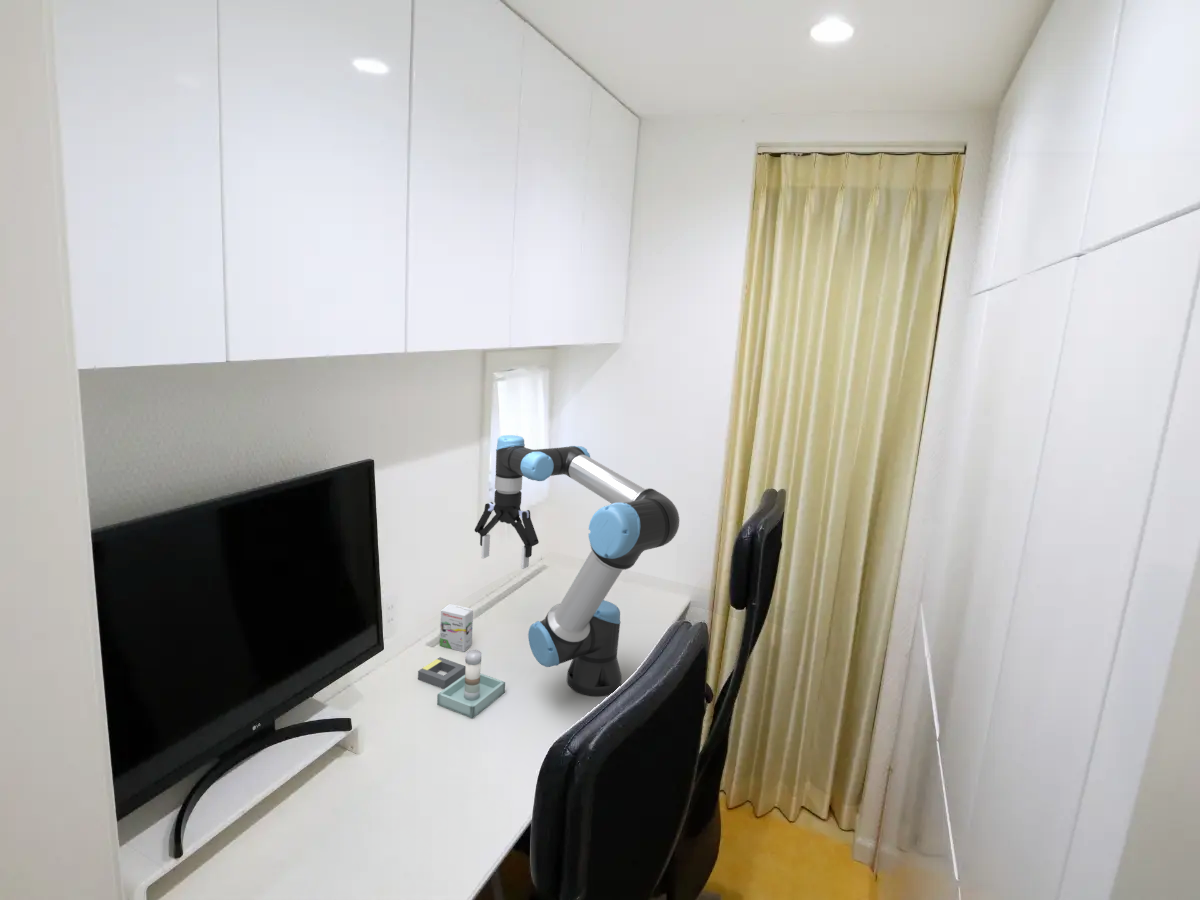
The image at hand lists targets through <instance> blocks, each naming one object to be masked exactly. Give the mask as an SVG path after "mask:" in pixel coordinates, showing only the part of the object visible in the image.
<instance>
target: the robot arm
mask: <svg viewBox="0 0 1200 900" xmlns="http://www.w3.org/2000/svg"><path fill="white" fill-rule="evenodd" d="M525 445H526V444H525V438H524V437H523V436H520V435H514V434H513V435H512V434H508V435H507V434H506V435H501V436H499V437H498V438H497V444H496V449H495V452H496V453H495V475H494V476H495V478H494V479H495V480H494V489H495V491H494V501H491V502H487V503H485V505H484V510H483V513H482V515H481V516H480V519H479V520H478V522H477V524H476V526H475V528H474V532H475V533H478V534H479V539H480V540H479V541H480V542H479V545H480V546H481V559H486V558H487V557H490V547H491V546H490V545H491V543H490V542H491V540H490V539H491V535H490V533H489V532H490V531H491V530H492V529H493V528H494V527H495V526H496V525H497V524H498V523H499V522H500V523H506V524H508V525H511V527H513V528H514V530H515V532H516V533H517V534H518V536H519V538H520V539H521V541H522V543H523V544H524V545H523V546H522V547H521V563H520V565H521V566H520V569H521V570H525V569H526V568H529V567H530V566H529V563H530V557H532V551H533V547H534V546H536V545H538V544H539V542H540V541H539V538H538V536H537V533H536V530H535V528H534V527H535V526H534V524H533V522H532V519H531V511H530V510H529V509H527V510H521V505H522V489H523V477H524V478H527V479H528V480H530V481H531V480H532V481H536V482H544V481H546V480H547V479H548V478H550V477H552V476H560V475H561V476H562V475H563V476H564V475H565V476H567V477H569V478H571V479H572V480H574V481H575V482H576V483H578V484H580V485H581V486H583V487H585V488H586V489H588V490H590V492H592V493H594V494H596V495H597V496H599V497H600V498H602V499H604V500H605V501H607V502H608V503H610V504H608V505H604V506H601V507H600V508H599V509H598V510H597V511H595V513H594V514H593V515H592V517H591V518H590V522H589V525H588V530H589V533H588V540H589V546H590V549H591V551H590V552H589V555H588V556H587V558H586V559H585V561H584V563H583V564H582V566H581V568H580V570H579V572H578V573H577V575H576V577H575V578H574V580H573V581H572V584H571V585H570V587H569V588H568V590H567V592H566V593H565V595H564V597H563V598H562V600H561V602H559V603H557V604H554V605H553V606H552V607H551V608H550V609H549V611H548V612H547V614H546V616H545V617H544V619H542V620H540V621H539V620H537V621H535V622H534V623H532V624H531V625H530V626H529V628H528V634H527V636H528V644H529V648H530V650H531V652H532V653H531V654H532V655H533V657H534V658H535V659H536V661H537V663H538V664H540V666H543V667H546V668H550V667H554V666H559V665H561V664H563V663H567V662H569V661H570V664H569V666H568V669H567V673H566V674H567V675H566V682H567V684H568V686H569V687H570V688H571V690H573V691H575V692H577V693H580V694H582V695H584V696H585V695H587V696H591V697H600V696H601V697H602V696H603V697H604V696H607V695H611V694H613V693H612V692H614V691H615V690H616V689H617V688H618V687H619V686H620V685H622V673H621V668H620V664H619V659H618V648H619V637H620V628H621V627H620V626H621V611H620V608H619V607H618V606H617V604H614V603H612V602H611V601H608V600H605V599H606V597H607V595H608V593H609V592H610V590H611V589H612V588H613V586H614V584H615V583H616V581H617V580H618V578H619V576H620V575H621V573H622V571H625V570H629V569H630V568H632V567H633V566H635V564H636V563H637V560H638V559H639V558H640V556H641V554H642V553H643V552H645V551H647V550H652V549H655V548H659V547H663V546H665V545H667V544H668V543H670V542H671V541H672V540H673V539H674V538H675V537H676V535H677V533H678V530H679V528H680V516H679V515H680V514H679V511H678V508H677V506H676V505H675V504H674V503H673V501H672V500H671V499H669V498H668V497H667V496H666V495H664V494H662V493H661V492H659V491H658V490H656V489H654V488H650V487H649V488H644V487H642V486H640V485H638V484H637V483H635V482H633V481H632V480H629V479H628V478H627V477H625V476H623V475H621V474H619V473H618V472H616V471H614V470H612V469H610V468H609V467H607V466H605V465H603V464H602V463H600V462H598V461H596V460H594V459H593V458H592V457H591V455H590V454H591V453H590V452H589V451H588V449H587V448H585V447H584V446H579V445H570V446H563V447H554V448H553V447H552V448H537V449H531V448H527V447H525ZM493 512H494V513H495V515H494V516H493V517H492V518H491V520H490V521H489V519H490V517H491V514H492V513H493ZM488 521H489V522H488ZM620 687H621V686H620ZM615 692H616V691H615ZM615 692H614V693H615Z"/></svg>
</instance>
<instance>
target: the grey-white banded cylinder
mask: <svg viewBox="0 0 1200 900" xmlns="http://www.w3.org/2000/svg"><path fill="white" fill-rule="evenodd" d="M482 654H483V653H482V651H480V650H477V649H469V650H468V651H467V650H466V651H465V666H466V668H465V689H464V698H465V699H466V700H469V701H473V700H477V699H478V698H479V697H480V673H481V669H482V667H481V663H482Z"/></svg>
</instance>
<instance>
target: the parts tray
mask: <svg viewBox="0 0 1200 900" xmlns="http://www.w3.org/2000/svg"><path fill="white" fill-rule="evenodd" d="M464 689H465V675H464V676H462V677H461V678H459V679H458V680H457V681H455V682H454V683H452V684H451V685H449V686H448V687H447V688H445V689H443V690H440V691H439V692H438V693H437V701H436V704H437V706H439V707H442V708H445V709H448V710H450V711H453V712H456V713H457V714H460V715H462V716H466V717H468V718H470V719H475V717H476V716H477V715H479V714H480V713H481V712H482V711H483V710H485V709H486V708H488V706H491V704H492V703H494V702H495V701H496V700H497V699H498V698H500V696H502V695H503V694H504V693H506V681H503V680H501V679H498V678H496V677H495V678H494V677H493V676H491V675H488V674H487V675H486V674H484V673H481V672H480V697H479V698H478V699H477V700H473V701H469V700H466V699H465V698H464Z"/></svg>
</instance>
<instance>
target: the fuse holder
mask: <svg viewBox="0 0 1200 900" xmlns="http://www.w3.org/2000/svg"><path fill="white" fill-rule="evenodd" d="M465 668H466V665H463V664H461V663H458V662H455V661H452V660H449V659H446V658H444V657H441V656H440V657H438V658H436V659H434V660H433V661H431V662H429V663H428V664H427V665H425V666H423V667H422V668H420V669H419V670H417V680H419V681H421V682H423V683H427V684H429V685H432V686H434V687H436V688H440V689H443V690H444V689H445V688H447V687H448V686H449V685H451V684H452V683H454V682H455V681H457V680H458V679H459V678H461V677H462V676H464V675H465ZM440 671H442V672H444V673H445V674H441V673H438V672H440Z"/></svg>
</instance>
